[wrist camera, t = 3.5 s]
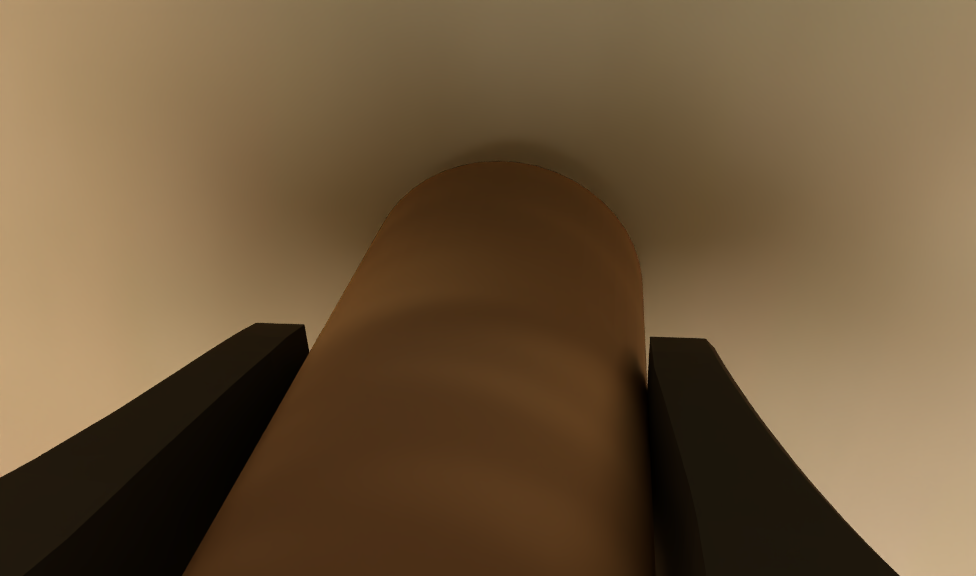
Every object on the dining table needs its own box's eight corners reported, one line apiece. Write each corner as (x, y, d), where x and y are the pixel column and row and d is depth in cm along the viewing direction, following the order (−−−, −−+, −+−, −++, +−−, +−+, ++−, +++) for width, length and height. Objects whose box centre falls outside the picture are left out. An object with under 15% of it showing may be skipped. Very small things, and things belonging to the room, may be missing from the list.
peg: (648, 162, 11) (693, 720, 4) (636, 406, 13) (655, 1063, 6) (354, 160, 12) (-18, 654, 5) (384, 395, 14) (146, 987, 7)
